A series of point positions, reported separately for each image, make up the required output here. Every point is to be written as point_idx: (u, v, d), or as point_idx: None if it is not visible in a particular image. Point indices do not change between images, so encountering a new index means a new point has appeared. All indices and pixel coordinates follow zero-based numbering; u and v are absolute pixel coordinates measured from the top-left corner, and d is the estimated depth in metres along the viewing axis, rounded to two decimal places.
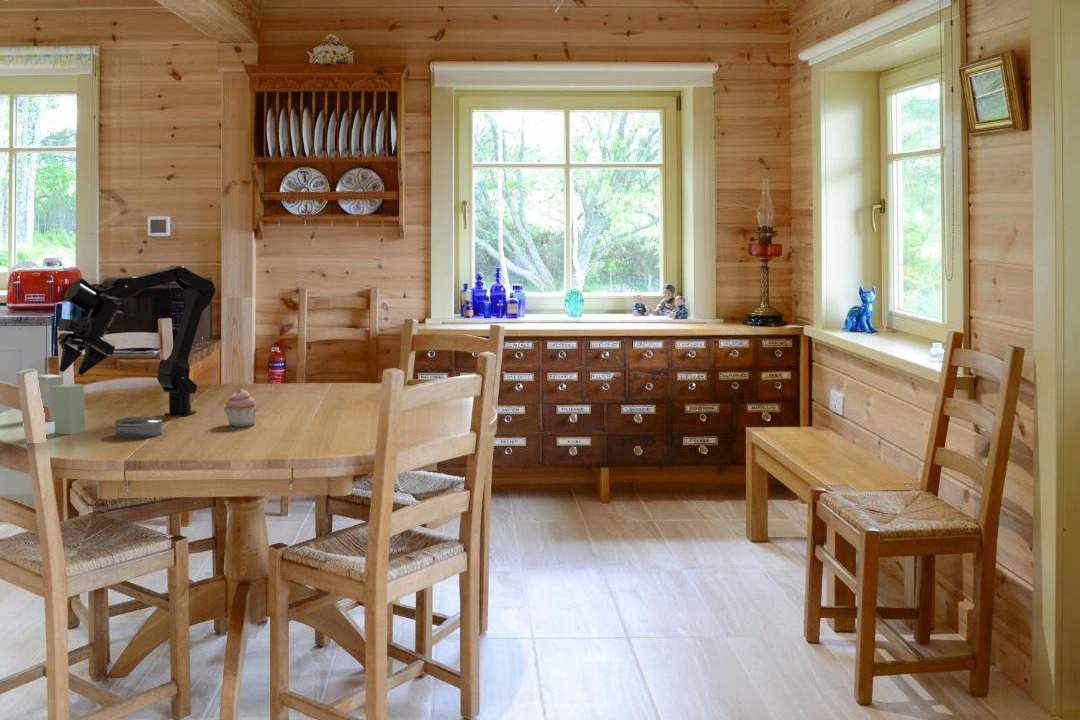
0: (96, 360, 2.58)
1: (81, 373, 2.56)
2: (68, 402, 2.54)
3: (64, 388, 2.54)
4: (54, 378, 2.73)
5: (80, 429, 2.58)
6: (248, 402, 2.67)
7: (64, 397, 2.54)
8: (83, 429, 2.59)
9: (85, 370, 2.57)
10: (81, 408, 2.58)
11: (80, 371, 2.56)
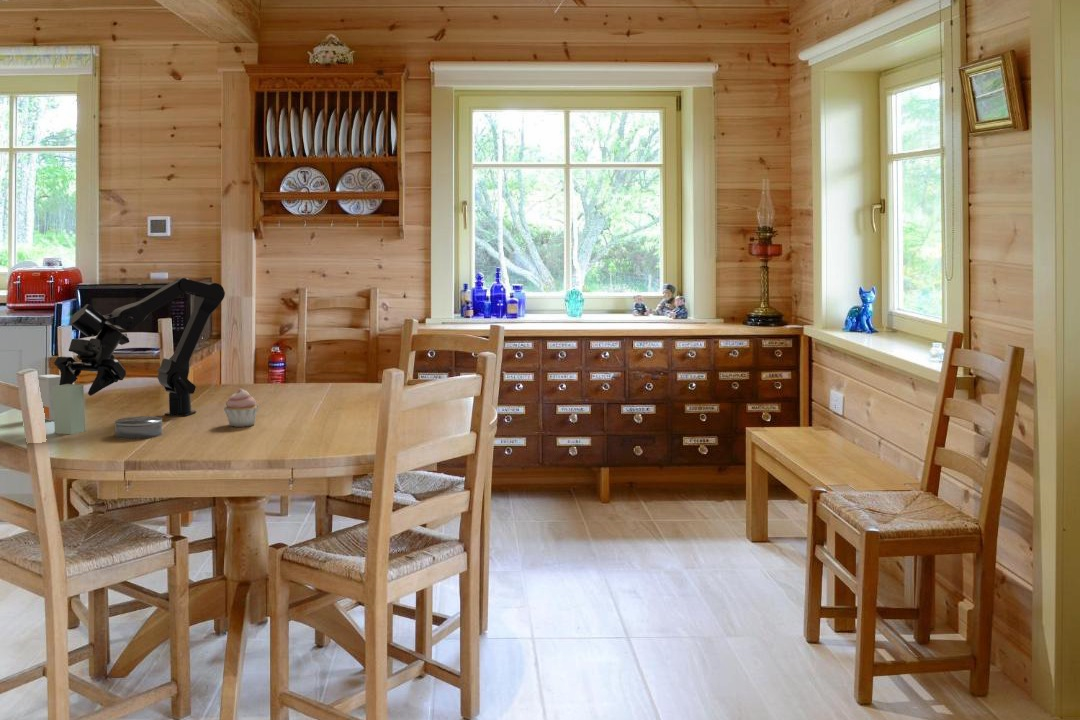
0: (106, 383, 2.61)
1: (91, 394, 2.58)
2: (68, 402, 2.54)
3: (64, 388, 2.54)
4: (54, 378, 2.73)
5: (80, 429, 2.58)
6: (248, 402, 2.67)
7: (64, 397, 2.54)
8: (83, 429, 2.59)
9: (95, 391, 2.59)
10: (81, 408, 2.58)
11: (91, 391, 2.58)
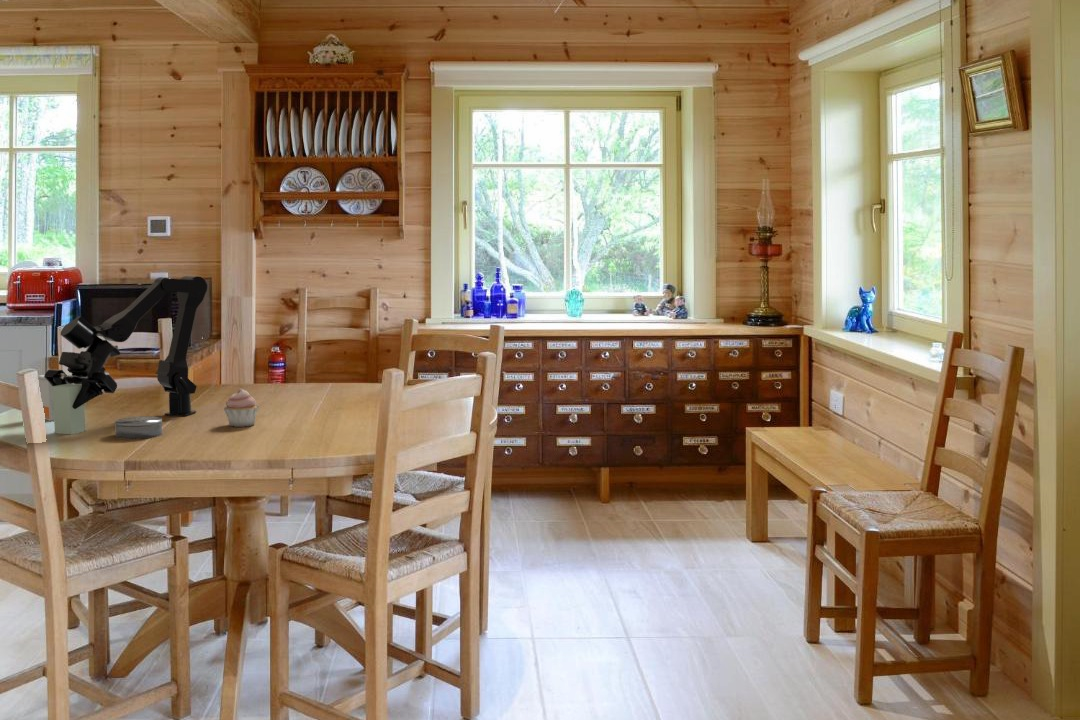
0: (91, 396, 2.59)
1: (75, 407, 2.55)
2: (68, 402, 2.54)
3: (64, 388, 2.54)
4: None
5: (80, 429, 2.58)
6: (248, 402, 2.67)
7: (64, 397, 2.54)
8: (83, 429, 2.59)
9: (79, 404, 2.56)
10: (81, 408, 2.58)
11: (75, 405, 2.55)
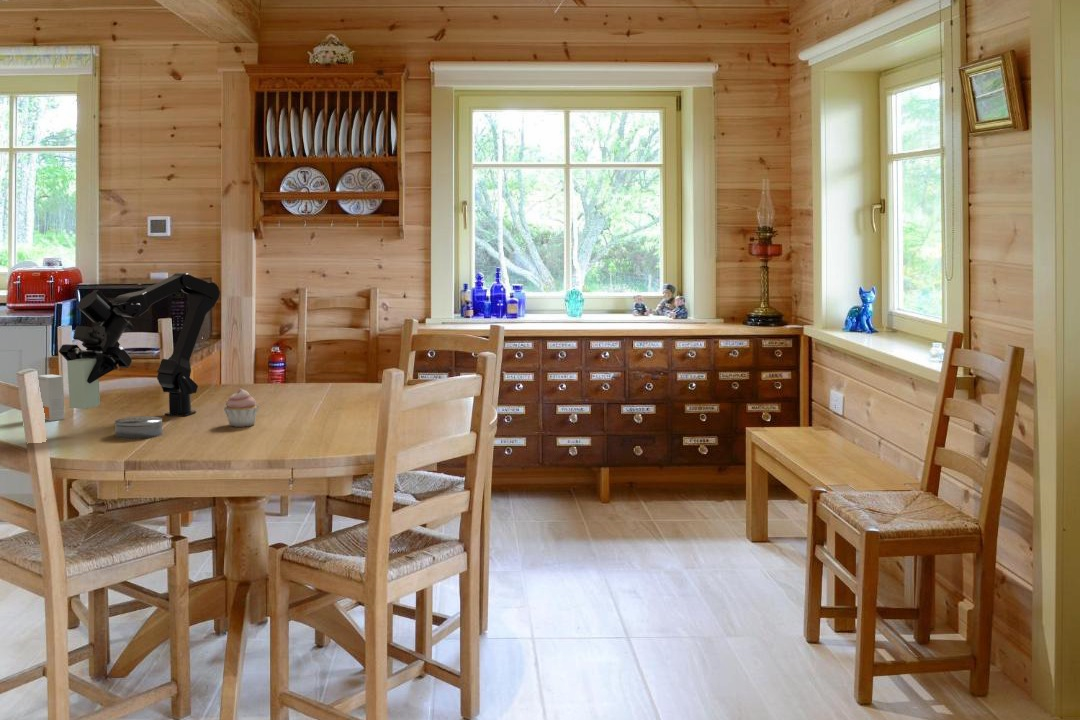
0: (105, 370, 2.57)
1: (90, 381, 2.54)
2: (83, 376, 2.53)
3: (78, 362, 2.53)
4: (54, 378, 2.73)
5: (95, 404, 2.57)
6: (248, 402, 2.67)
7: (78, 372, 2.53)
8: (98, 404, 2.58)
9: (94, 379, 2.55)
10: (96, 383, 2.57)
11: (90, 379, 2.54)
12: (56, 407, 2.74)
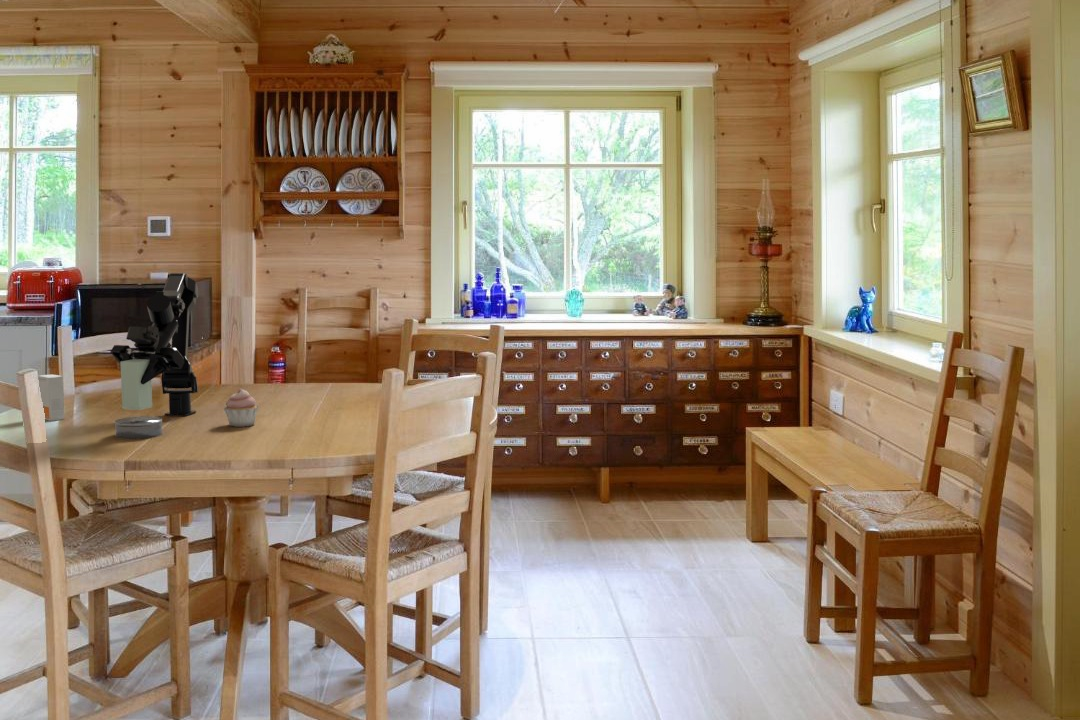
0: (158, 371, 2.55)
1: (143, 382, 2.52)
2: (137, 377, 2.50)
3: (132, 363, 2.50)
4: (54, 378, 2.73)
5: (147, 405, 2.54)
6: (248, 402, 2.67)
7: (132, 372, 2.51)
8: (150, 405, 2.55)
9: (147, 380, 2.53)
10: (149, 384, 2.54)
11: (143, 380, 2.52)
12: (56, 407, 2.74)
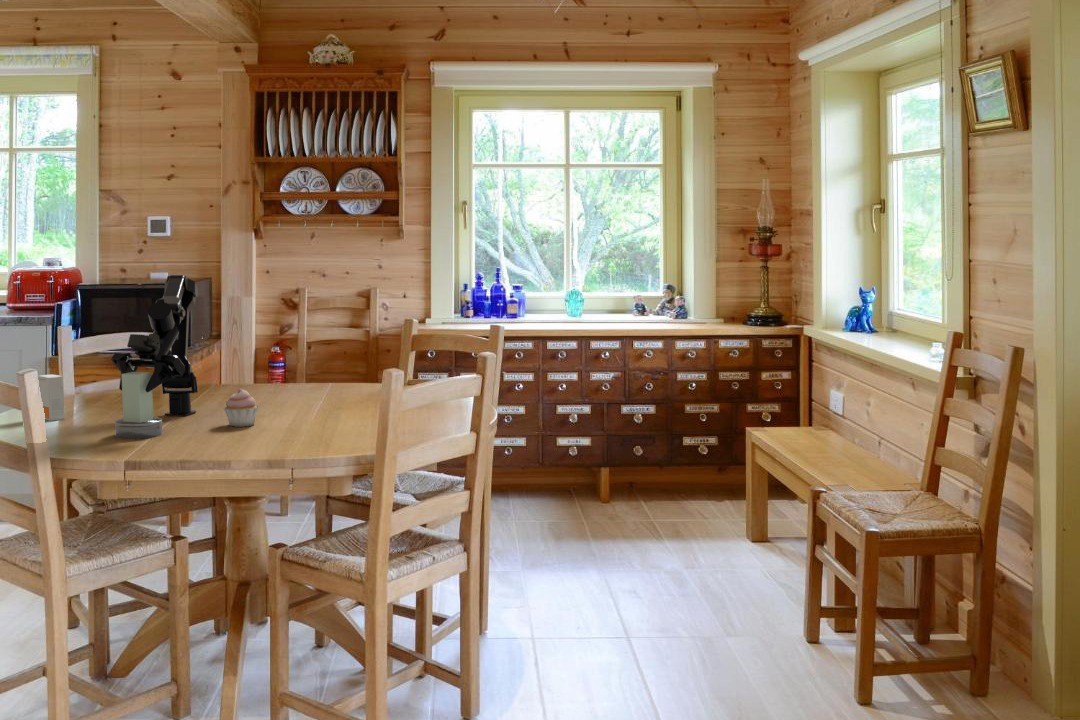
0: (163, 379, 2.55)
1: (148, 390, 2.52)
2: (138, 390, 2.51)
3: (133, 376, 2.51)
4: (54, 378, 2.73)
5: (148, 417, 2.55)
6: (248, 402, 2.67)
7: (133, 385, 2.51)
8: (151, 417, 2.56)
9: (152, 388, 2.52)
10: (150, 396, 2.55)
11: (148, 388, 2.51)
12: (56, 407, 2.74)
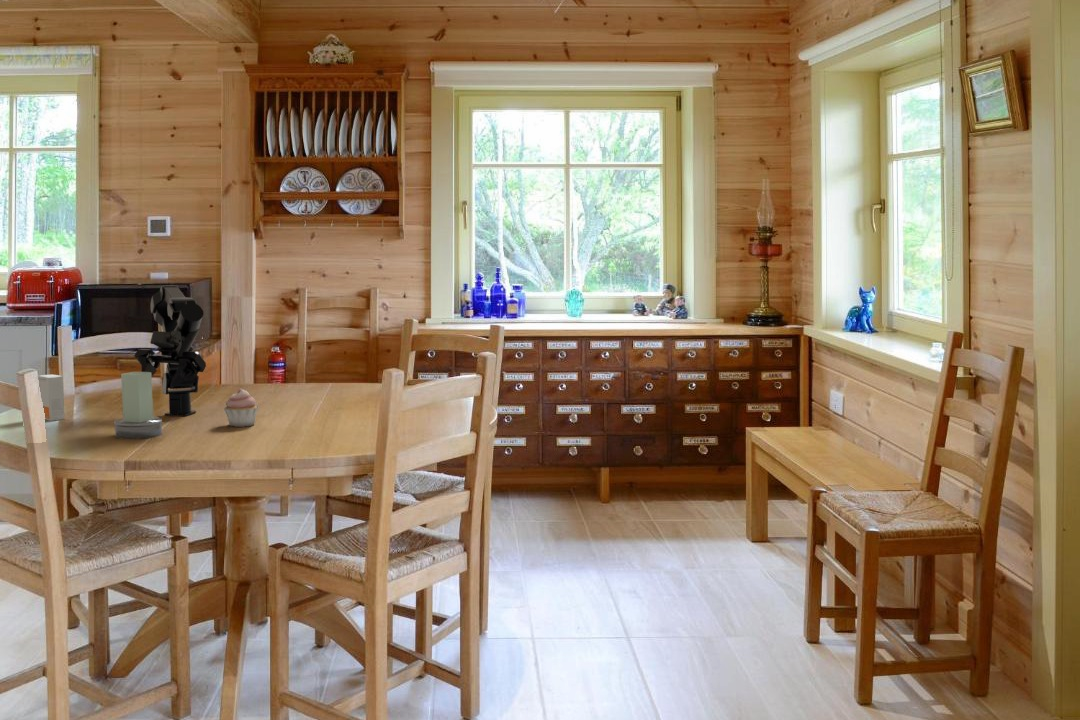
0: (187, 375, 2.63)
1: (173, 385, 2.60)
2: (137, 390, 2.51)
3: (133, 375, 2.51)
4: (54, 378, 2.73)
5: (148, 417, 2.55)
6: (248, 402, 2.67)
7: (133, 385, 2.51)
8: (151, 417, 2.56)
9: (177, 383, 2.61)
10: (149, 396, 2.55)
11: (173, 383, 2.60)
12: (56, 407, 2.74)
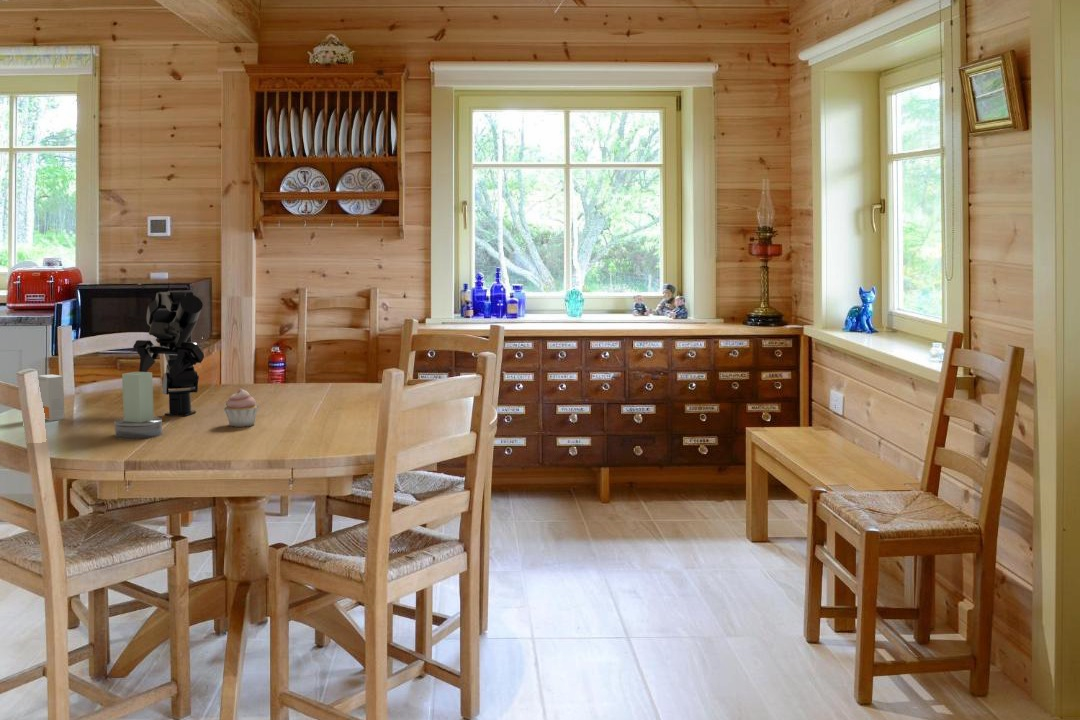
0: (185, 365, 2.66)
1: (172, 376, 2.63)
2: (138, 390, 2.51)
3: (134, 375, 2.51)
4: (54, 378, 2.73)
5: (149, 417, 2.55)
6: (248, 402, 2.67)
7: (133, 385, 2.51)
8: (152, 417, 2.56)
9: (175, 373, 2.64)
10: (150, 396, 2.55)
11: (171, 374, 2.63)
12: (56, 407, 2.74)
